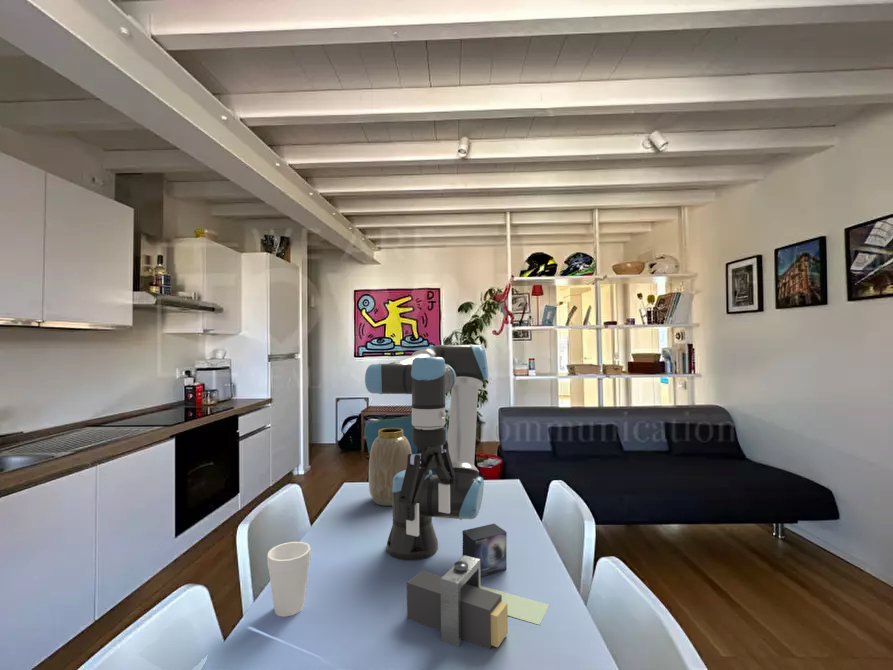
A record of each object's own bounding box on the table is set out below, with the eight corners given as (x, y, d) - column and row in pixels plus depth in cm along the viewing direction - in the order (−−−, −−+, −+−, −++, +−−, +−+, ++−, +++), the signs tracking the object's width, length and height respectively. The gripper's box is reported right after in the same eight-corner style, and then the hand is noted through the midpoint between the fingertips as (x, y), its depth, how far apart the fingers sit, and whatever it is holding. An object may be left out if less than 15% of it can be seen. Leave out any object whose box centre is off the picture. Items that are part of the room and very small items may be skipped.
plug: (407, 619, 95) (406, 582, 96) (422, 605, 100) (422, 570, 101) (496, 654, 84) (496, 612, 84) (508, 636, 89) (508, 597, 90)
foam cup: (285, 626, 93) (285, 565, 93) (258, 612, 98) (258, 554, 98) (319, 603, 101) (319, 547, 101) (293, 592, 106) (293, 538, 106)
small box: (473, 581, 110) (473, 539, 110) (461, 569, 116) (460, 530, 116) (508, 571, 115) (507, 531, 115) (494, 560, 121) (493, 522, 121)
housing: (441, 640, 88) (440, 574, 88) (464, 611, 98) (464, 551, 98) (458, 647, 86) (458, 579, 86) (480, 616, 96) (480, 555, 96)
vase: (411, 508, 160) (410, 434, 160) (364, 508, 160) (364, 434, 161) (415, 492, 177) (414, 425, 178) (373, 492, 177) (372, 426, 178)
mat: (463, 603, 101) (463, 601, 101) (477, 586, 108) (477, 584, 108) (539, 626, 92) (539, 624, 92) (549, 606, 99) (549, 604, 99)
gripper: (412, 438, 84) (413, 550, 83) (468, 418, 106) (469, 506, 105) (380, 435, 87) (381, 541, 87) (441, 416, 109) (442, 501, 109)
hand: (429, 522), depth 96 cm, fingers open, 13 cm apart
